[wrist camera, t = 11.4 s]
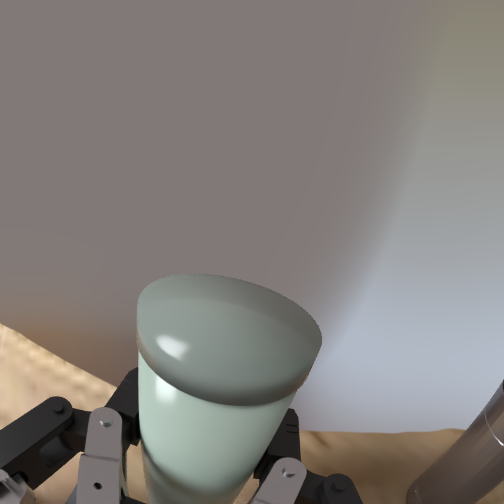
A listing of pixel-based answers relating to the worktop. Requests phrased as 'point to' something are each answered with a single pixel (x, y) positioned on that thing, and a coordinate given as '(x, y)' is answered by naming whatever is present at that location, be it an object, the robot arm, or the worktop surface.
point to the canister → (215, 381)
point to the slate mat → (73, 497)
